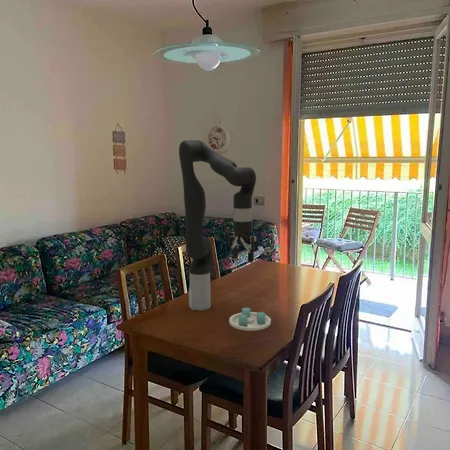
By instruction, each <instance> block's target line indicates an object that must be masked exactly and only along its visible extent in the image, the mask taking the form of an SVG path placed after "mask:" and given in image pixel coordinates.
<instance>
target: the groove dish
mask: <svg viewBox="0 0 450 450" xmlns="http://www.w3.org/2000/svg"><path fill="white" fill-rule="evenodd" d="M257 313H258V312H255V311H250V317H248V318H247V327H244V326H239V315H242V312H238V313H235V314H233V315H231V316H230V317H229V320H228V323H229V325H230V326H231V327H233V328H234V329H237V330H241V331H248V332H249V331H250V332H254V331H261V330H264V329H267V328H269V327H270V326H271V325H272V323H271V322H272V319H271V317H270V316H268V315H267V314H265V324H263V325H259V324H257Z"/></svg>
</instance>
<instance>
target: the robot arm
mask: <svg viewBox="0 0 450 450" xmlns="http://www.w3.org/2000/svg"><path fill="white" fill-rule="evenodd" d="M178 156H179V163H180V169H181V176H182V183H183V184H182V186H183V204H184V210H185V211H184V212H185V213H184V214H185V226H186V227H185V232H186V234H185V236H186V237H185V251H186V253H187V256H188V257H189V258H190V259H191V260H192V261H191V264H190V265H189V268H188V272H189V287H188V308H189V309H191V311H206V310H209V309H210V308H211V304H212V303H211V267H212V259H213V257H212V254H213V253H212V252H213V249H212V242H211V240H210V239H209V238H208V237H207V236H205V235H203V223H204V219H205V216H206V215H205V214H206V207H207V206H206V204H207V203H206V193H205V192H206V191H205V190H204V187H203V185H202V184H201V182H200V181H199V180H198V178H197V175H196V173H195V170H194V169H195V168H194V163H197V162H204V163H207V164H209V166H210V168H211V170H212V171H213V172H214V173H216V174H218V175H219V176H222V177H223V178H224V179H225V180H226V181H227V182H228V183H229V184H230V185H232V186H234V187H240V190H239V191H237V192H235V193H234V194H233V211H232V231H230V232H228V239H227V240H228V241H227V242H228V243H227V244H228V248H231V252H232V259H238V258H239V246H243V247H244V248H245V249H246V250H247V262H248V263H253V262H254V258H255V254H254V253H255V252H258V251H259V243H258V235H252V232H253V208H252V205H253V203H252V201H253V199H252V197H253V194H254V191H255V190H254V189H255V186H256V184H257V183H256V181H257V175H256V172H255V170H254V168H252V167H249V166H247V167H245V166H244V167H238V165H237V164H236V162H234V161H233V160H231V159H228V158H227V157H225V156H223V155H221V154H219V153H218V152H217V151H215V150H214V149H213V148H211V147H210V146H209V145H207V144H206V143H205V142H204V141H202V140H197V139H196V140H195V139H194V140H193V139H192V140H191V139H190V140H189V139H187V140H182V141H181V142H180V143H179V147H178Z"/></svg>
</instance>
